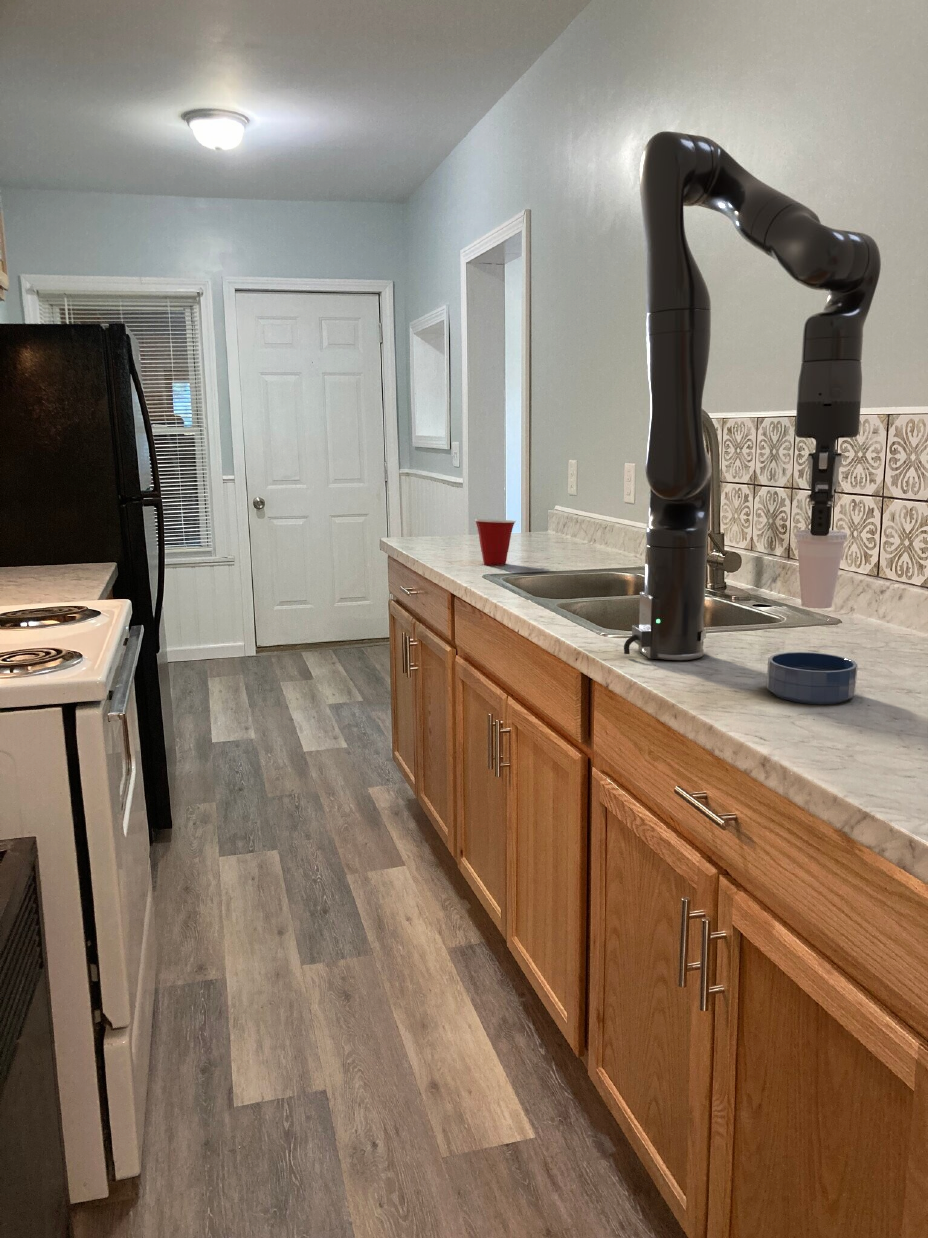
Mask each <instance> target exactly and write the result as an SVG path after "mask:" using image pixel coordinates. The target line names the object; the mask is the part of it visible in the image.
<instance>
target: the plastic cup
mask: <svg viewBox="0 0 928 1238" xmlns="http://www.w3.org/2000/svg"><path fill="white" fill-rule="evenodd" d="M474 522H475V524H476V528H477V534H478V538H479V545H480V552H481V555H482V562H483V565H485V566H492V567H493V566H505V565H506V563H507V561H508V560H507V558H508V553H509V549H510V543H511V536H512V532H513V528H514V526H515V523H516V522H517V521H516V520H512V519H511V520H510V519H496V518H495V519H494V518H492V519H491V518H475V519H474Z"/></svg>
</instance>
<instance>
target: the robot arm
mask: <svg viewBox="0 0 928 1238" xmlns="http://www.w3.org/2000/svg"><path fill="white" fill-rule="evenodd" d="M639 196H640V204H641V206H640V207H641V216H642V225H643V234H644V248H645V275H646V276H645V277H646V278H645V279H646V302H645V303H646V305H645V306H646V307H645V341H646V342H645V344H646V345H645V346H646V363H647V378H648V387H649V396H650V417H649V432H648V441H647V450H646V460H645V468H644V469H645V478H646V482H647V484H648V487H649V509H648V518H647V524H646V528H645V551H644V552H645V553H644V555H645V557H644V587H643V588H644V589H643V590H644V591H640V592H639V608H638V609H639V610H638V611H639V612H638V613H639V614H638V624H632V625H631V636H630V637H628V638H627V639H626V640H625V642H624V644H623V654H624V655H630V654H631V653H630V652H631V651H630V646H631V645H632V644H633V643H635V644H636V645H638V647H637V648H638V652H640V653H641V654H642V655H644V656H645V657H646V658H648V659H650V660H664V661H689V660H696V659H699V658H702V657H703V656H704V640H705V639H706V638H707V628H705V605H706V586H707V585H706V580H707V561H708V558H707V557H708V537H709V535H708V534H709V528H710V518H711V498H712V479H713V478H712V477H713V466H712V460H711V457H710V455H709V453H708V451H707V450H706V447H705V440H704V439H705V438H704V427H703V426H704V425H703V397H704V390H705V383H706V378H707V374H708V373H707V372H708V365H709V360H710V350H711V335H712V333H711V331H712V328H711V327H712V326H711V325H712V324H711V323H712V305H711V303H712V301H711V296H710V292H709V288H708V286H707V284H706V280H705V279H704V277H703V274H702V272H701V270H700V267H699V266H698V263H697V261H696V259H695V256H694V255H693V253H692V251H691V248H690V246H689V242H688V239H687V235H686V228H685V214H684V213H685V212H684V209H685V208H684V207H694V206H696V207H701V208H706V209H709V210H711V211H714V212H717V213H719V214H722V215H724V216H725V217H726V218H728V219H729V220H730V221H731V222H732V224H733V227H734V229H735V230H736V231H737V232H738V234H739V235H740V237H741V238H742V239H743V240H744V241H746V243H749V244H750V245H751V246H753V247H754V248H755V249H757V250H759V251H761V252H762V253H764V254H765V255H766V256H769V257H770V258H772V259H773V260H775V261H777V263H778V264H779V265H780V266H781V268H782V269H783V270H784V271H785V272H786V274H788V275H789V277H791V278H792V279H793V280H794V281H795V282H797V283H798V284H800V285H802V286H803V287H806V288H809V289H811V290H815V291H822V292H828V293H827V298H826V301H825V304H824V307H823V310H822V311H819V312H816V313H813V314H812V315H811V314H810V316H808V317H807V319H806V320H805V322H804V325H803V332H802V342H801V361H800V362H801V363H800V369H799V370H800V371H799V375H798V380H797V394H796V395H797V396H796V397H797V398H796V415H795V431H794V433H795V436H796V438H799V439H813V440H814V441H815V446H814V447H815V448H814V452H809V453H808V455H807V468H808V469H809V470H808V479H807V480H808V481H807V482H808V486H807V487H808V488H809V489H810V494H809V503H810V505H811V513H810V514H811V515H810V528H809V530H810V533H811V534H812V535H813V536H827V535H828V534H829V530H830V529H831V527H832V513H833V503H834V499H836V497H835V496H836V494H835V493H836V490H837V488H838V486H839V481H840V480H839V479H840V468H841V467H842V463H843V461H842V460H843V452H838V449H837V448H836V447H837V440H838V439H851V438H852V439H853V438H857V437H858V435H859V433H860V432H859V431H860V421H861V405H862V390H863V372H862V371H863V369H862V357H863V344H864V343H863V342H864V339H863V338H864V326H865V323H866V320H867V318H868V315H869V312H870V310H871V306H872V304H873V303H872V302H873V300H874V296H875V293H876V290H877V286H878V283H879V280H880V275H881V268H882V258H881V252H880V248H879V246H878V244H877V242H876V240H875V239H874V238H873V237H872V236H870V235H868V234H866V233H864V232H859V231H858V232H857V231H851V230H844V229H837V228H833V227H830V226H826V225H825V224H823V223H822V222H821V220H820V218H819V216H818V214H817V213H816V212H815V211H813V210H812V209H811V208H810V207H808V206H806V205H805V204H803V203H801V202H800V201H798V200H795V199H794V198H792V197H790V196H788V195H787V194H785V193H783V192H781V191H779V190H778V189H776V188H773V187H772V186H771V185H768V184H766V183H765V182H764V181H761V180H760V179H758V177H756V176H754V175H753V174H752V173H750V171H748V170H747V169H746V168H744V167H743V166H742V165H741V164H740V163H738V161H737V160H736V159H734V157H732V155H731V154H729V152H727V150H725V149H724V148H723V147H722V146H721V145H720V144H719V143H717V142H716V141H715V140H714V139H711V138H709V137H708V136H702V135H696V134H689V133H683V132H679V131H669V130H668V131H667V130H666V131H665V130H664V131H663V130H662V131H660V132H657V133H655V134H654V135H652V136H651V137H650V139H649V140H648V141H647V142H646V145H645V147H644V149H643V152H642V154H641V159H640V165H639ZM827 505H830V506H827Z"/></svg>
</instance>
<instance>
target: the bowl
mask: <svg viewBox="0 0 928 1238" xmlns="http://www.w3.org/2000/svg"><path fill="white" fill-rule="evenodd" d="M766 671H767V672H766V688H767V690H768V691H769V692H771V693H772V694H773V695H774V696H776V697H777V698H780V699H782V700H787V701H789V702H793V703H794V702H795V703H800V704H808V705H834V704H841V703H844V702H846V701H847V700H849V699H851V698H854V697H855V695H856V692H857V678H858V663H857V662H856V661H855V660H853V659H850V658H847V657H844V656H841V655H840V656H839V655H835V654H829V653H821V652H809V651H790V652H789V651H787V652H781V653H776V654H772V655H770V656H769V657H768V658H767V670H766Z"/></svg>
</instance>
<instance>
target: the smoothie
mask: <svg viewBox="0 0 928 1238" xmlns="http://www.w3.org/2000/svg"><path fill="white" fill-rule="evenodd" d="M827 506H830V505H827ZM794 540H795V541H796V545H797V559H798V560H797V561H798V575H799V589H800V603H801V607H803V608H807V609H817V610H819V609H821V610H822V609H823V610H824V609H830V608H833V607H832V606H833V601H834V598H835V597H834V596H835V593H836V592H835V591H836V586H837V582H838V581H837V580H838V576H839V571H840V565H841V561H842V556H843V550H844V546H845V542H847V541H848V533H847V532H846V531H841V530H833V529H832V530H830V529H829V534H828V535H827V536H813V535H812V534H811V533H810V529H800V530H795V533H794Z"/></svg>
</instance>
